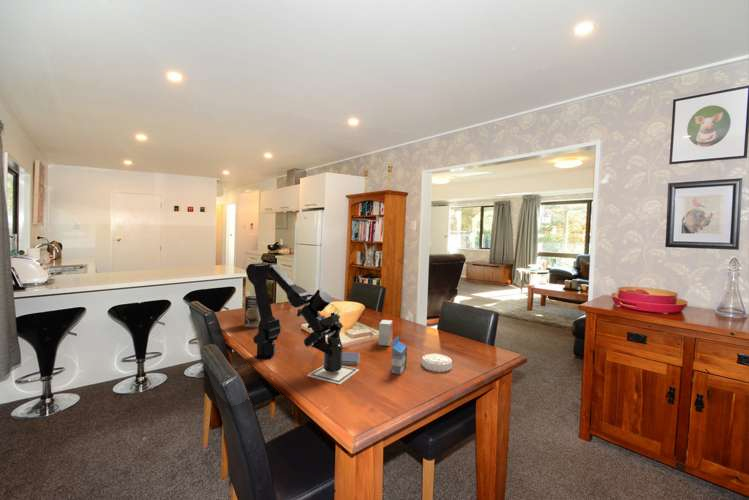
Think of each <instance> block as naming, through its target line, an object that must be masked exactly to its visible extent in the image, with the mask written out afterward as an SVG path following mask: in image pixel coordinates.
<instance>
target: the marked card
mask: <svg viewBox="0 0 749 500" xmlns="http://www.w3.org/2000/svg"><path fill="white" fill-rule="evenodd" d="M359 371H360V369H357V368H355V367H350V366H347V365H342V368H341V370H339V371H336V372H329V371H326V370H325V369H324V364H323V365H322V366H320V367H319V368H317V369H315V370H314V371H312V372H310V373H308V374H307V375H306V376H307V377H310V378H313V379H317V380H321V381H325V382H329V383H333V384H337V385H341V384H343V383H344V382H345V381H347V380H349V378H351V377H352V376H354V375H355V374H356V373H357V372H359Z"/></svg>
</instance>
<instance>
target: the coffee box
mask: <svg viewBox="0 0 749 500" xmlns="http://www.w3.org/2000/svg"><path fill="white" fill-rule="evenodd" d="M244 298H245V299H244V301H245V302H244V303H245V304H244V327H245V328H257V329H258V326H259V322H260V314H259V309H258V304H257V299H256V295H250V296H246V297H244Z"/></svg>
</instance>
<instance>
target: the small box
mask: <svg viewBox="0 0 749 500" xmlns="http://www.w3.org/2000/svg"><path fill="white" fill-rule="evenodd" d="M393 325H394V321H393V320H391V319H381V321H380V322H379V323H378V346H388V347H390V346H391V345H392V341H393Z"/></svg>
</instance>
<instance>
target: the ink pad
mask: <svg viewBox="0 0 749 500" xmlns="http://www.w3.org/2000/svg"><path fill="white" fill-rule="evenodd" d="M360 358H361V353H360V352H349V351H347V352H345V351H342V366H359V364H360V363H359V362H360Z"/></svg>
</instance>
